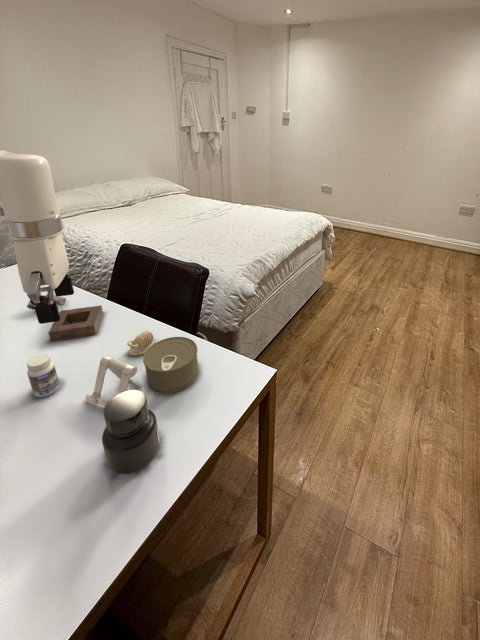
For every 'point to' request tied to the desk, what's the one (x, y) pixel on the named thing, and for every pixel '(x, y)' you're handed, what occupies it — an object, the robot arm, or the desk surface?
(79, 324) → the holder
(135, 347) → the decorative ornament
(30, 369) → the pill bottle
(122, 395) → the ink bottle
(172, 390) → the can
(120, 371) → the tablet stand
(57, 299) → the seashell
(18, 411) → the desk surface
